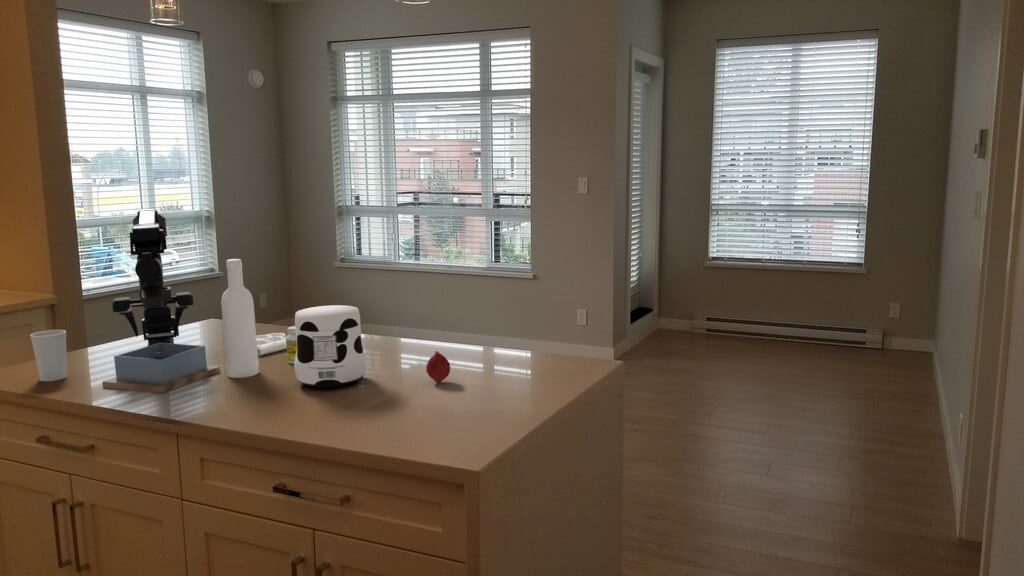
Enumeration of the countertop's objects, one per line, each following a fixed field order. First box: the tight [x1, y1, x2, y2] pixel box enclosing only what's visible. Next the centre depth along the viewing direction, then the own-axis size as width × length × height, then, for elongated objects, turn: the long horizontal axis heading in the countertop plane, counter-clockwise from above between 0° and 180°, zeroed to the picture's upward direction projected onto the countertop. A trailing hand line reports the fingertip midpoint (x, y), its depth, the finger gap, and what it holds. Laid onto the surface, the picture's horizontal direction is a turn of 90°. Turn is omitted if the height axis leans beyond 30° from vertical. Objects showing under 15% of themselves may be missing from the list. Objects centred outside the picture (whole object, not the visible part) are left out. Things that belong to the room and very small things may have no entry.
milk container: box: [293, 304, 367, 388], centre depth 194 cm, size 17×17×18 cm
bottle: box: [220, 258, 260, 379], centre depth 202 cm, size 8×8×30 cm
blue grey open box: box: [113, 343, 208, 384], centre depth 201 cm, size 15×17×6 cm
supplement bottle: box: [286, 325, 297, 365], centre depth 216 cm, size 5×5×10 cm
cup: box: [30, 329, 69, 382], centre depth 205 cm, size 8×8×12 cm
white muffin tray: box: [256, 332, 287, 357], centre depth 231 cm, size 3×18×15 cm
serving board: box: [101, 364, 221, 394], centre depth 201 cm, size 20×19×2 cm
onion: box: [425, 350, 451, 384], centre depth 192 cm, size 6×6×8 cm
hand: (156, 334), depth 204 cm, fingers open, 9 cm apart
